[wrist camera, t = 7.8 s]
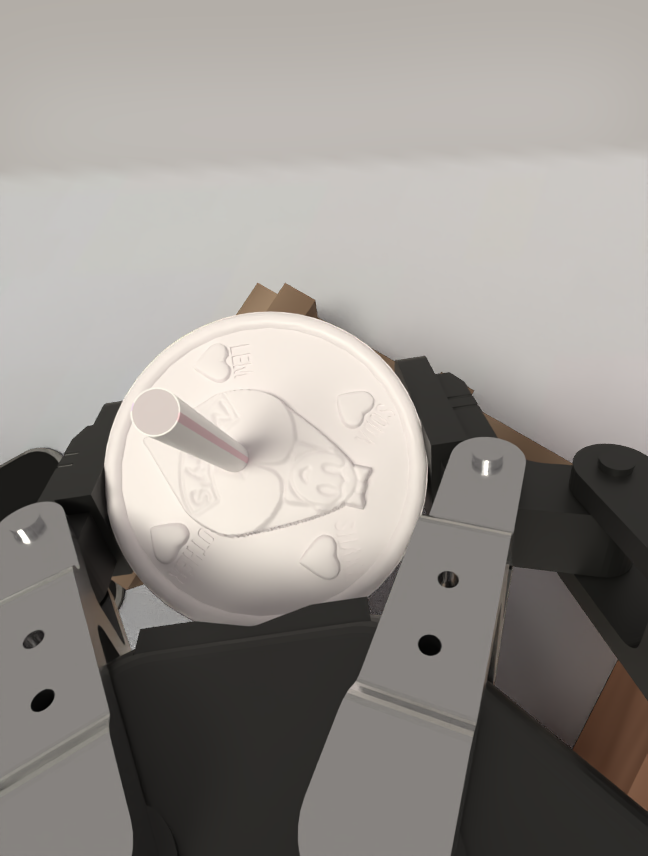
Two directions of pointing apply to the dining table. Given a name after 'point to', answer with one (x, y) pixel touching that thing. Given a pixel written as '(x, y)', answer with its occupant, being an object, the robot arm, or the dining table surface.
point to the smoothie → (264, 469)
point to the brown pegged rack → (621, 698)
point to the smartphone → (33, 488)
